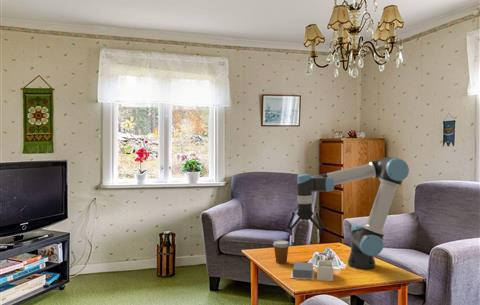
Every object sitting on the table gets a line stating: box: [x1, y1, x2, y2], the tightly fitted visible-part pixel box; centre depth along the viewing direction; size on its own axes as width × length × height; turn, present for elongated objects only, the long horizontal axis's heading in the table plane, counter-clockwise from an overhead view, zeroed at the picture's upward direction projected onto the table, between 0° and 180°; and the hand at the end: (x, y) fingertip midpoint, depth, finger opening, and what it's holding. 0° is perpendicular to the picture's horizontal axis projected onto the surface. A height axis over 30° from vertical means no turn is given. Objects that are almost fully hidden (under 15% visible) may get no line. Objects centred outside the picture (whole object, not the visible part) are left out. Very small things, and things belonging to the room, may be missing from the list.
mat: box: [290, 268, 315, 281], centre depth 220 cm, size 12×16×1 cm
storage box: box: [316, 259, 334, 282], centre depth 215 cm, size 8×11×7 cm
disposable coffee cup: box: [272, 239, 290, 265], centre depth 241 cm, size 10×10×12 cm
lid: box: [292, 261, 314, 278], centre depth 219 cm, size 10×13×4 cm
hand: (305, 241), depth 220 cm, fingers open, 13 cm apart
